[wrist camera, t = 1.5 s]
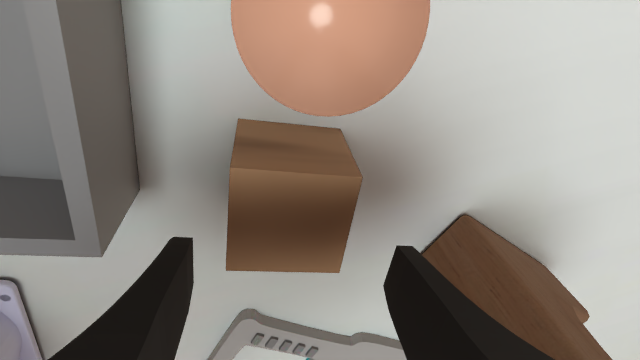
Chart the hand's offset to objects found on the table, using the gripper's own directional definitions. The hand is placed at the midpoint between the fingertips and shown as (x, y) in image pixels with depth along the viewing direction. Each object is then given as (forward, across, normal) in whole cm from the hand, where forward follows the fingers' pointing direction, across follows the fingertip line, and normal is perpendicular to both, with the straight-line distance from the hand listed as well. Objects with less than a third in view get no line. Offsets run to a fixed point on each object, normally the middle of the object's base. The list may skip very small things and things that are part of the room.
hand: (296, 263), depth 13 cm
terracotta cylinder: (+7, 0, -8) cm, 11 cm away
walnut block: (+7, 0, 0) cm, 7 cm away
